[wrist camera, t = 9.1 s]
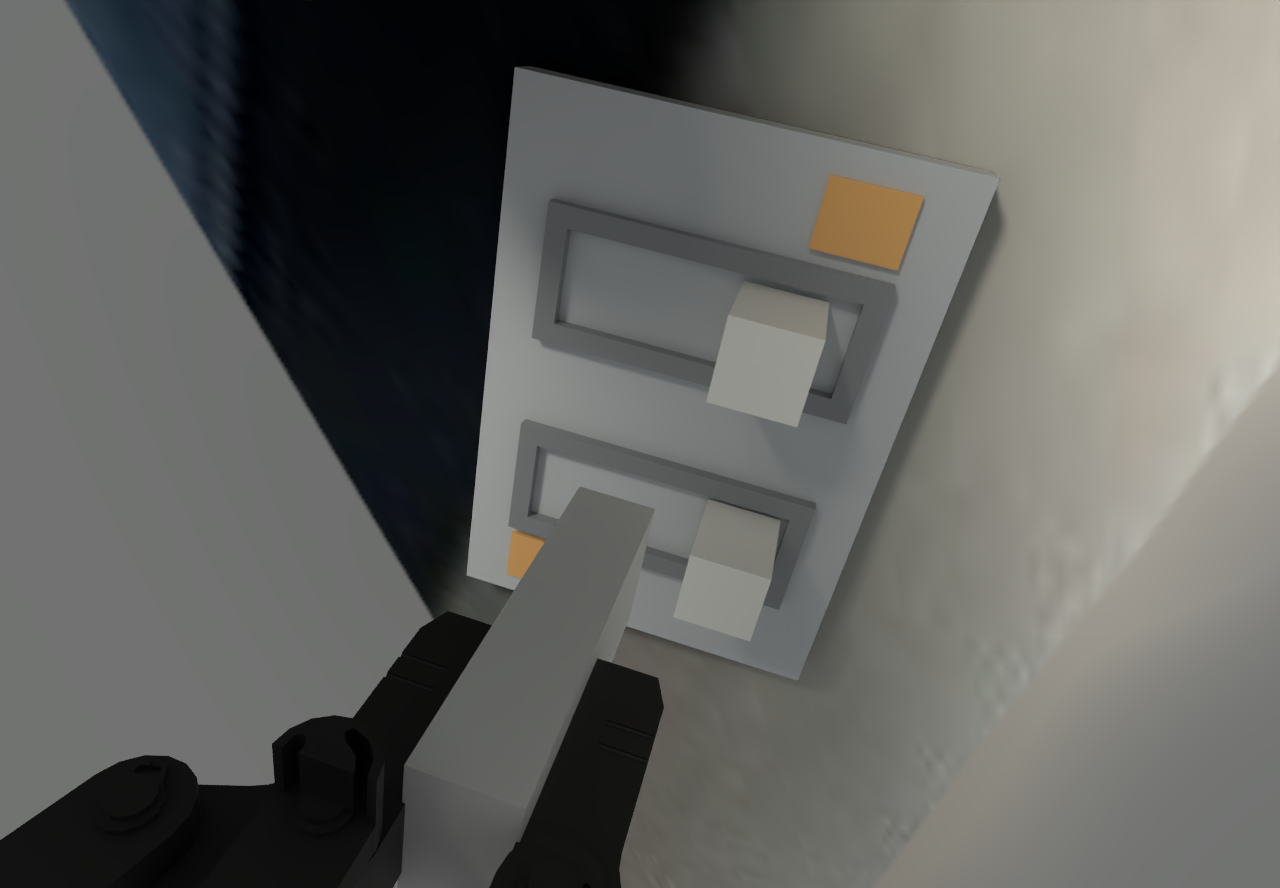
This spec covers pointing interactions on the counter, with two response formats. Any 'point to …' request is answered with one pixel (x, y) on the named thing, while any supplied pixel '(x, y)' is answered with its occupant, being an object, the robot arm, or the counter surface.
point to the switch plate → (702, 334)
